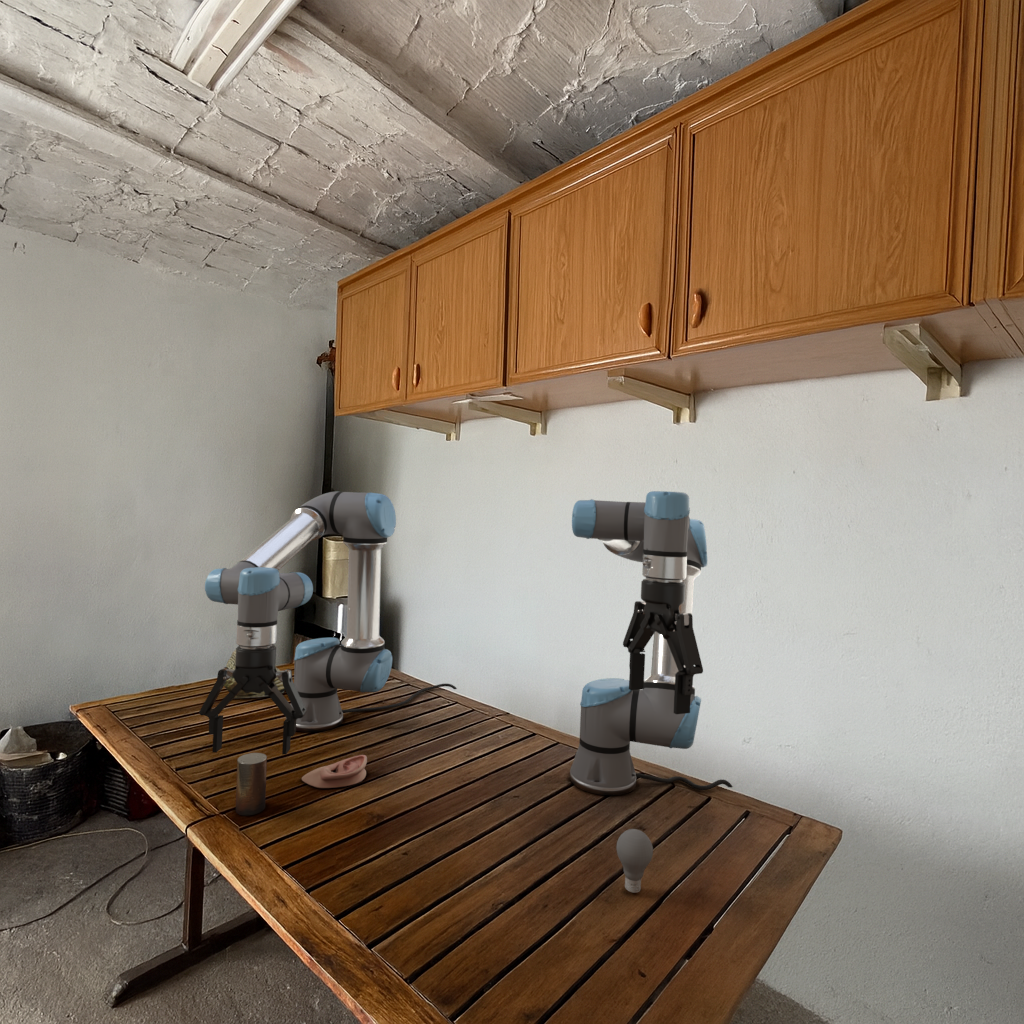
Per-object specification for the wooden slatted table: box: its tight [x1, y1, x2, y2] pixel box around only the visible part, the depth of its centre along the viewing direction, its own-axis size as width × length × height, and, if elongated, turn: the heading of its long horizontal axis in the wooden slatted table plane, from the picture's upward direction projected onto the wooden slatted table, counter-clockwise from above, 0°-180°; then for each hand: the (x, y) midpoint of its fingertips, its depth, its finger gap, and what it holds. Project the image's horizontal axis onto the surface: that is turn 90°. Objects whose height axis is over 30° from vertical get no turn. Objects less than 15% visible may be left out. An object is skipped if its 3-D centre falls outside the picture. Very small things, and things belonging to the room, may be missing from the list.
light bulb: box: [615, 828, 654, 894], centre depth 106 cm, size 6×6×10 cm
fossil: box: [223, 649, 286, 699], centre depth 198 cm, size 9×18×15 cm, turn 132°
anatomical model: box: [301, 754, 368, 789], centre depth 143 cm, size 13×4×12 cm
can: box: [235, 752, 268, 817], centre depth 127 cm, size 6×6×10 cm
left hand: (251, 751), depth 127 cm, fingers open, 13 cm apart
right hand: (657, 700), depth 111 cm, fingers open, 13 cm apart
